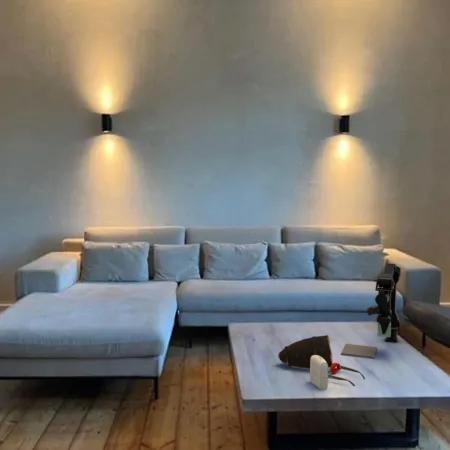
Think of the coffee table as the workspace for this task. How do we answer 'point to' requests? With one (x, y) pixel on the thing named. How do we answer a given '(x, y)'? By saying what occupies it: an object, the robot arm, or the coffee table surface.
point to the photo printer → (319, 372)
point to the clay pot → (306, 352)
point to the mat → (359, 351)
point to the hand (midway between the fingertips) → (384, 332)
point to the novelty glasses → (334, 370)
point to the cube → (386, 331)
